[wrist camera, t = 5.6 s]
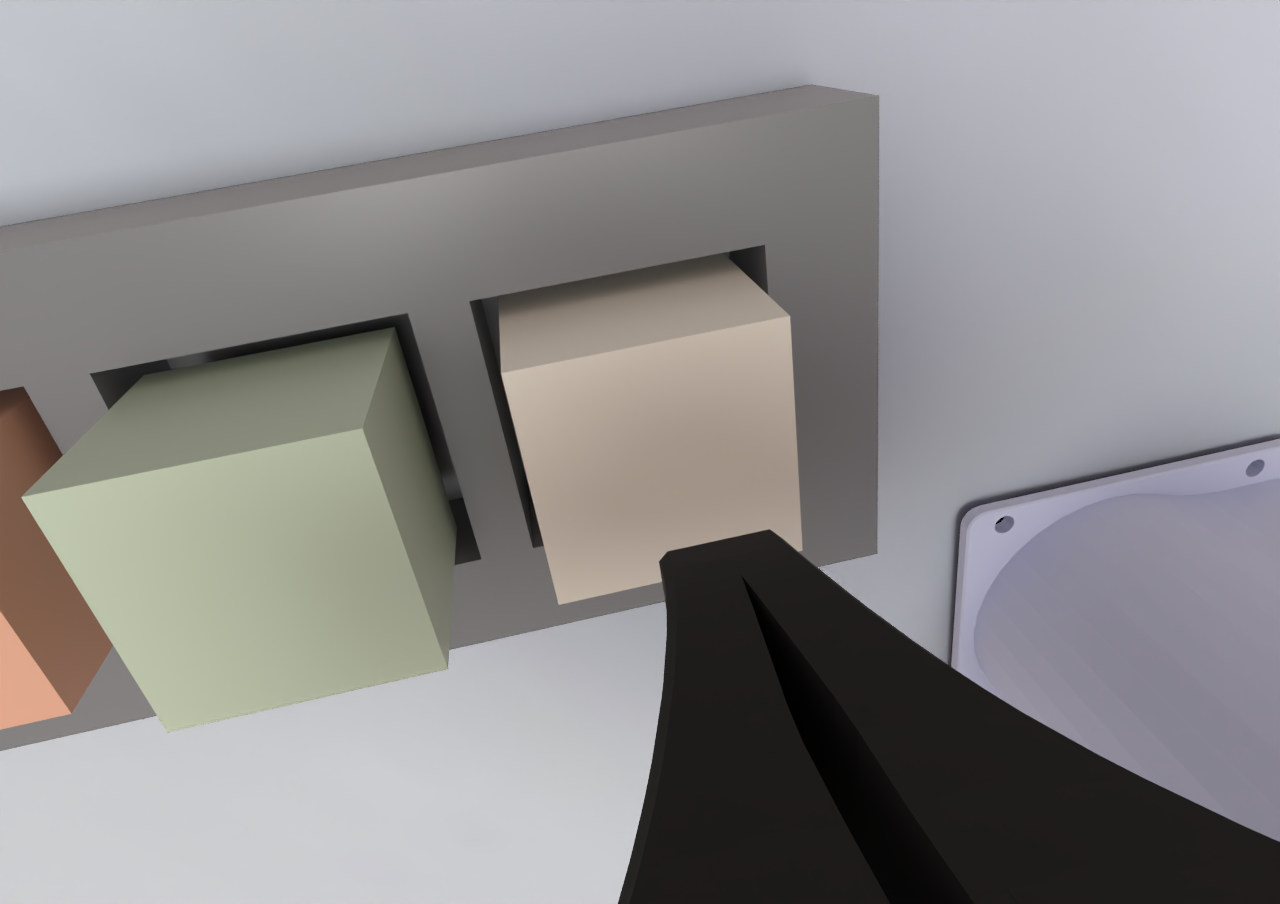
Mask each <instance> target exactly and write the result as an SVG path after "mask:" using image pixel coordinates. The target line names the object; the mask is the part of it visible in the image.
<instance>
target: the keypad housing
mask: <svg viewBox="0 0 1280 904" xmlns="http://www.w3.org/2000/svg"><path fill="white" fill-rule="evenodd" d="M878 240H879V96H878V95H872V94H866V93H859V92H853V91H847V90H841V89H835V88H829V87H822V86H816V85H807V86H801V87H796V88H790V89H784V90H779V91H773V92H767V93H761V94H756V95H750V96H744V97H739V98H733V99H727V100H722V101H716V102H710V103H704V104H699V105H693V106H687V107H682V108H676V109H670V110H664V111H659V112H653V113H647V114H642V115H636V116H630V117H625V118H619V119H613V120H607V121H602V122H596V123H590V124H585V125H579V126H573V127H568V128H562V129H556V130H550V131H545V132H539V133H533V134H528V135H522V136H516V137H510V138H505V139H499V140H493V141H488V142H482V143H476V144H471V145H465V146H459V147H453V148H448V149H442V150H436V151H431V152H425V153H419V154H414V155H408V156H402V157H396V158H391V159H385V160H379V161H374V162H368V163H362V164H356V165H351V166H345V167H339V168H334V169H328V170H322V171H317V172H311V173H305V174H299V175H294V176H288V177H282V178H277V179H271V180H265V181H260V182H254V183H248V184H242V185H237V186H231V187H225V188H220V189H214V190H208V191H202V192H197V193H191V194H185V195H180V196H174V197H168V198H163V199H157V200H151V201H145V202H140V203H134V204H128V205H123V206H117V207H111V208H105V209H100V210H94V211H88V212H83V213H77V214H71V215H66V216H60V217H54V218H48V219H43V220H37V221H31V222H26V223H20V224H14V225H9V226H3V227H0V391H1V390H7V389H12V388H17V387H22V386H24V388H25V390H26V392H27V393H28V395H29V397H30V399H31V400H32V402H33V404H34V406H35V407H36V409H37V411H38V412H39V414H40V416H41V418H42V419H43V421H44V423H45V425H46V426H47V428H48V430H49V432H50V433H51V435H52V437H53V439H54V440H55V442H56V444H57V446H58V447H59V449H60V451H61V453H62V454H63V455H64V454H65V453H66V452H67V451H68V450H69V449H70V448H71V447H72V446H73V445H74V444H75V443H76V442H77V441H78V440H79V439H80V438H81V437H82V436H83V435H84V434H85V433H86V432H87V431H88V430H89V429H90V428H91V427H92V426H93V425H94V424H95V423H96V422H97V421H98V420H99V419H100V418H101V417H102V416H103V415H104V414H105V413H106V412H107V411H108V410H109V409H110V408H111V407H112V406H113V405H114V404H115V403H116V402H117V401H118V400H119V399H120V398H121V397H122V396H123V395H124V394H125V393H126V392H127V391H128V390H129V389H130V388H131V387H132V386H133V385H134V384H135V383H136V382H137V381H138V380H139V379H140V378H141V377H142V376H143V375H147V374H152V373H157V372H162V371H168V370H173V369H178V368H183V367H189V366H194V365H199V364H204V363H209V362H215V361H220V360H225V359H230V358H235V357H241V356H246V355H251V354H256V353H261V352H267V351H272V350H277V349H282V348H287V347H293V346H298V345H303V344H308V343H314V342H319V341H324V340H329V339H334V338H340V337H345V336H350V335H355V334H360V333H366V332H371V331H376V330H381V329H386V328H392V327H395V329H396V332H397V336H398V339H399V342H400V345H401V349H402V352H403V355H404V358H405V361H406V365H407V368H408V371H409V374H410V378H411V381H412V384H413V387H414V390H415V394H416V397H417V400H418V403H419V406H420V410H421V413H422V416H423V419H424V423H425V426H426V429H427V432H428V435H429V439H430V442H431V445H432V448H433V452H434V455H435V458H436V461H437V464H438V468H439V471H440V474H441V477H442V481H443V484H444V487H445V490H446V493H447V497H448V500H449V503H450V506H451V510H452V513H453V516H454V519H455V522H456V526H457V534H456V549H455V565H454V580H453V596H452V612H451V627H450V643H449V650H451V649H455V648H460V647H464V646H469V645H473V644H478V643H482V642H487V641H491V640H495V639H500V638H504V637H509V636H513V635H518V634H522V633H527V632H531V631H535V630H540V629H544V628H549V627H553V626H558V625H562V624H567V623H571V622H575V621H580V620H584V619H589V618H593V617H598V616H602V615H607V614H611V613H615V612H620V611H624V610H629V609H633V608H638V607H642V606H647V605H651V604H655V603H660V602H664V601H665V596H664V590H663V584H662V582H659V583H655V584H650V585H646V586H641V587H637V588H632V589H628V590H623V591H619V592H615V593H610V594H606V595H601V596H597V597H592V598H588V599H583V600H579V601H574V602H570V603H565V604H561V605H559V604H558V600H557V596H556V592H555V588H554V584H553V580H552V576H551V572H550V568H549V564H548V560H547V556H546V552H545V548H544V544H543V540H542V536H541V532H540V528H539V524H538V520H537V516H536V512H535V508H534V504H533V500H532V496H531V492H530V488H529V484H528V480H527V476H526V472H525V468H524V464H523V460H522V456H521V452H520V448H519V444H518V440H517V436H516V432H515V428H514V424H513V419H512V415H511V411H510V407H509V403H508V399H507V395H506V391H505V387H504V383H503V379H502V375H501V359H500V332H499V304H498V296H499V295H504V294H510V293H515V292H520V291H525V290H531V289H536V288H541V287H546V286H551V285H557V284H562V283H567V282H572V281H578V280H583V279H588V278H593V277H599V276H604V275H609V274H614V273H620V272H625V271H630V270H635V269H641V268H646V267H651V266H656V265H662V264H667V263H672V262H677V261H682V260H688V259H693V258H698V257H703V256H709V255H714V254H719V253H724V254H725V255H726V256H727V257H728V258H729V259H730V260H731V261H732V262H733V263H734V264H735V265H737V266H738V267H739V268H740V269H741V270H742V271H743V272H744V273H745V274H746V275H747V276H748V277H749V278H750V279H751V280H753V281H754V282H755V283H756V284H757V285H758V286H759V287H760V288H761V289H762V290H763V291H764V292H765V293H766V294H767V295H768V296H770V297H771V298H772V299H773V300H774V301H775V302H776V303H777V304H778V305H779V306H780V307H781V308H782V309H783V310H784V311H785V312H787V313H788V314H789V315H790V323H791V341H792V360H793V379H794V398H795V417H796V436H797V455H798V473H799V492H800V511H801V530H802V549H803V551H798V552H799V553H800V554H802V555H803V556H804V557H805V558H806V559H808V560H809V561H810V562H811V563H812V564H814V565H815V566H816V567H820V566H824V565H829V564H833V563H838V562H842V561H846V560H851V559H855V558H860V557H864V556H869V555H873V554H877V501H878ZM153 716H157V715H156V713H155V712H154V710H153V708H152V707H151V705H150V704H149V702H148V700H147V699H146V697H145V696H144V694H143V692H142V691H141V689H140V687H139V686H138V684H137V683H136V681H135V679H134V678H133V676H132V675H131V673H130V671H129V670H128V668H127V667H126V665H125V663H124V662H123V660H122V659H121V657H120V655H119V654H118V652H117V651H116V649H115V647H114V646H113V647H112V649H111V650H110V652H109V653H108V655H107V657H106V658H105V660H104V662H103V663H102V665H101V667H100V668H99V670H98V671H97V673H96V675H95V676H94V678H93V680H92V681H91V683H90V684H89V686H88V688H87V689H86V691H85V693H84V694H83V696H82V698H81V699H80V701H79V702H78V704H77V706H76V707H75V709H74V711H73V712H72V714H68V715H64V716H59V717H55V718H50V719H46V720H41V721H37V722H32V723H28V724H23V725H19V726H14V727H10V728H5V729H1V730H0V751H2V750H7V749H11V748H16V747H20V746H25V745H29V744H33V743H38V742H42V741H47V740H51V739H56V738H60V737H65V736H69V735H73V734H78V733H82V732H87V731H91V730H96V729H100V728H105V727H109V726H113V725H118V724H122V723H127V722H131V721H136V720H140V719H144V718H149V717H153Z"/></svg>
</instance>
